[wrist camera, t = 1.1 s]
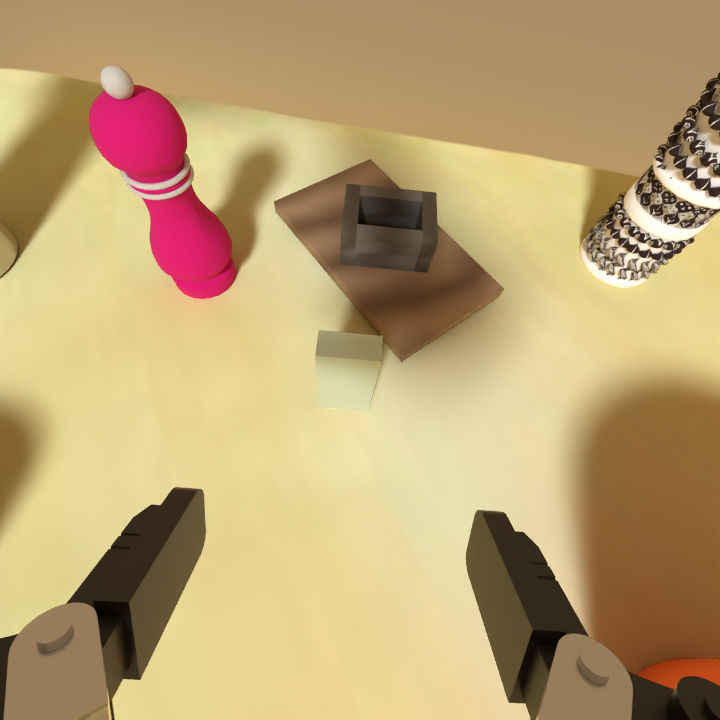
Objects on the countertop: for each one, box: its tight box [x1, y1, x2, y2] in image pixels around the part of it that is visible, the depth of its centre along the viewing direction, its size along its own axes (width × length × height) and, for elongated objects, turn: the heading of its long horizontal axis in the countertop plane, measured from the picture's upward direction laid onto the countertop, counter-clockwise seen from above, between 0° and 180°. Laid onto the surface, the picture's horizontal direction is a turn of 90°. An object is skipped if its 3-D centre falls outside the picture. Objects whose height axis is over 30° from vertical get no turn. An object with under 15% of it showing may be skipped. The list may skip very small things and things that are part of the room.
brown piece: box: [274, 160, 504, 362], centre depth 42 cm, size 14×24×6 cm, turn 36°
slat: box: [316, 330, 383, 412], centre depth 31 cm, size 4×2×11 cm, turn 86°
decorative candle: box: [579, 73, 720, 288], centre depth 35 cm, size 9×9×25 cm
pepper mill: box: [89, 65, 236, 299], centre depth 32 cm, size 7×7×20 cm
